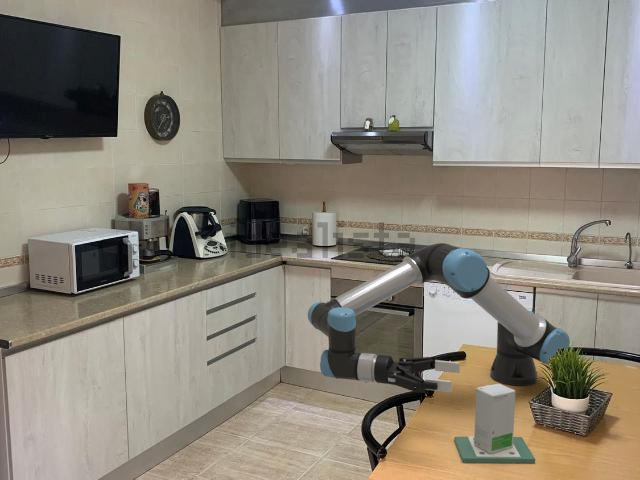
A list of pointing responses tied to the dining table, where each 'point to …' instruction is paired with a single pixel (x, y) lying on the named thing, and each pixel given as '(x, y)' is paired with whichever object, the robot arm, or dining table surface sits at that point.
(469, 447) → the board
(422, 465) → the dining table surface
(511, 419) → the skincare box
